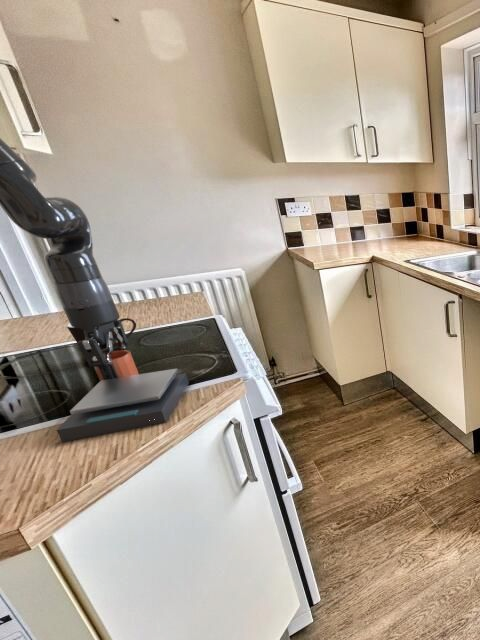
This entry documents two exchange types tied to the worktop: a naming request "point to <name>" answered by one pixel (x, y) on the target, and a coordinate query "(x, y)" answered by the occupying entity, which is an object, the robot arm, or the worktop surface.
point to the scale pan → (126, 391)
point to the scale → (124, 415)
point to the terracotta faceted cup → (121, 364)
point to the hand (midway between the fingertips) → (118, 373)
